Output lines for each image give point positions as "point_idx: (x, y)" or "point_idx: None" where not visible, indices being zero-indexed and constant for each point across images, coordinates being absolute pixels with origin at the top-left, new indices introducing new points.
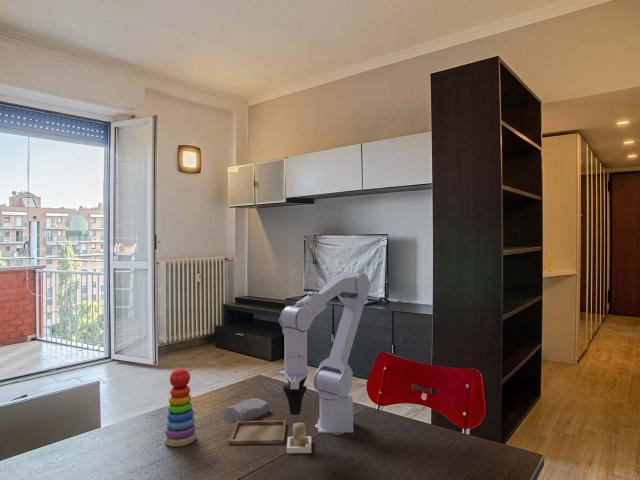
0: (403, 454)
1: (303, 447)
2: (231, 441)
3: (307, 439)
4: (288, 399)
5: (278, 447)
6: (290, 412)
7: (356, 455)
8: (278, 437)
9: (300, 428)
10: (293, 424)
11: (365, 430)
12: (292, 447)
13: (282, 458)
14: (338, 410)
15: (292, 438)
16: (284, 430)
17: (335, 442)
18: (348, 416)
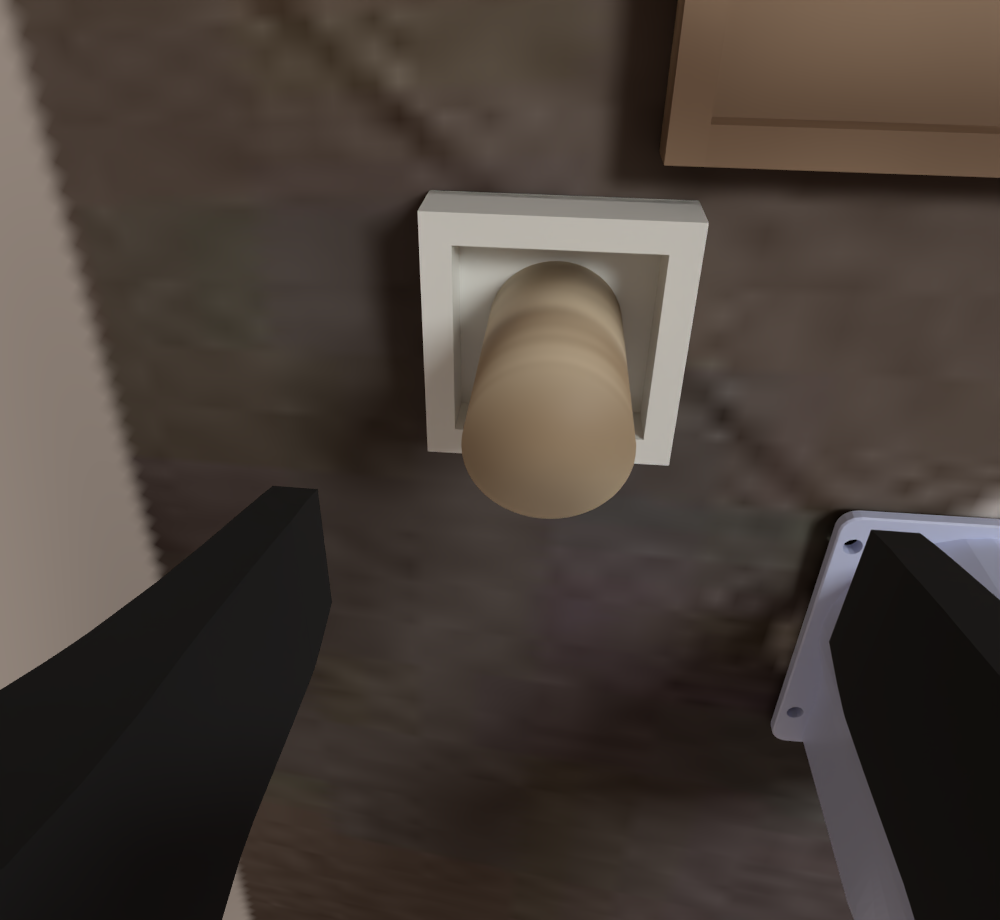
0: (434, 865)
1: (427, 384)
2: None
3: (644, 420)
4: (1, 704)
5: (603, 84)
6: (254, 501)
7: (420, 686)
8: (836, 77)
9: (466, 455)
10: (576, 381)
11: (791, 787)
12: (425, 276)
13: (347, 143)
14: (875, 821)
15: (667, 274)
16: (947, 168)
17: (633, 602)
18: (840, 818)
